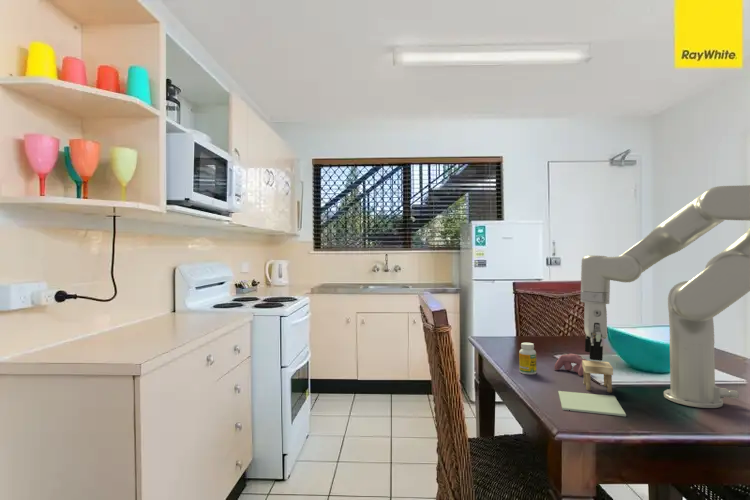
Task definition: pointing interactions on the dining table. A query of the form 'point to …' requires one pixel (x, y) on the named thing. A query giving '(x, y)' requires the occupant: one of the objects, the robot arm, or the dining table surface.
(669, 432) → the dining table surface
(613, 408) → the mat
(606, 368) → the stool
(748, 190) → the robot arm
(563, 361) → the video game controller
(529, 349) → the supplement bottle
